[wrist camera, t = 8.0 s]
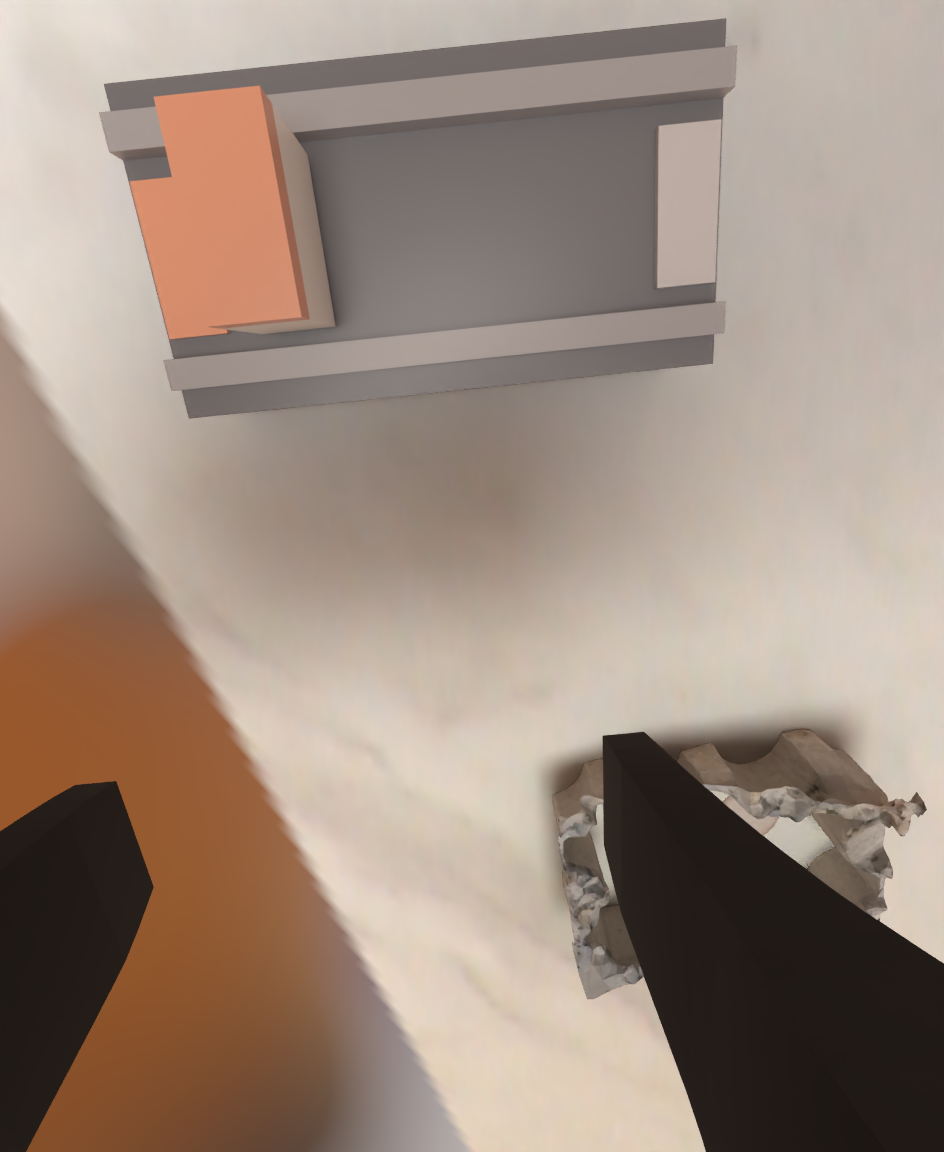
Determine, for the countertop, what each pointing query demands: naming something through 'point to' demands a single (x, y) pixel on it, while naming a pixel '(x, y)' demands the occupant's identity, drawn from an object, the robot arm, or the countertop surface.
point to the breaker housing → (467, 216)
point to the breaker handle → (246, 211)
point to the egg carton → (759, 796)
